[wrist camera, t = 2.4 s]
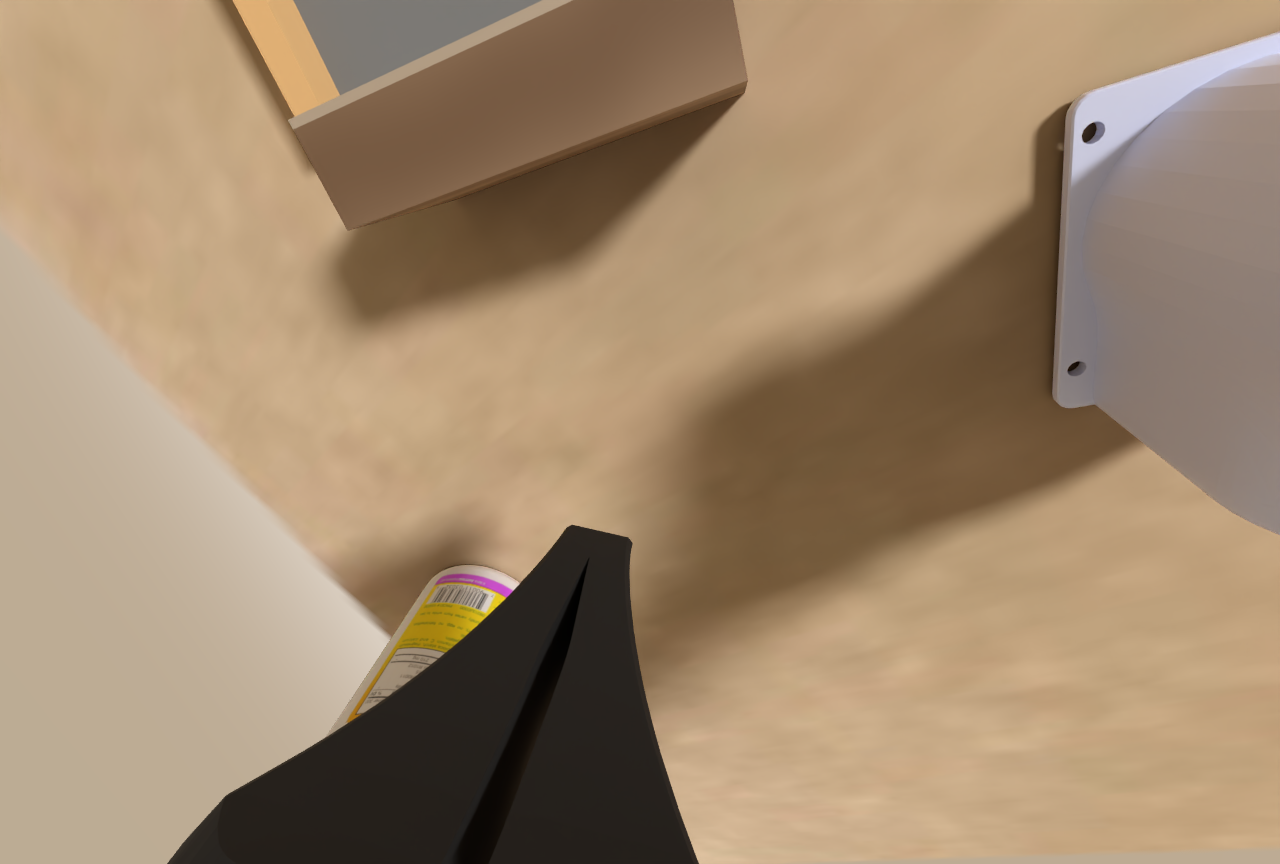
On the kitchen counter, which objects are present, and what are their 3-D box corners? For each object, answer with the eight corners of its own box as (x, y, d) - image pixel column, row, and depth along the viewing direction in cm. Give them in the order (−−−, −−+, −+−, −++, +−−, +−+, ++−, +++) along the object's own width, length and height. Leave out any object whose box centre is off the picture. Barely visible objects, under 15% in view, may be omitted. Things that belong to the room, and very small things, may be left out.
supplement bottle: (494, 658, 31) (363, 948, 20) (406, 589, 29) (209, 869, 18) (572, 618, 28) (469, 932, 17) (481, 538, 26) (299, 835, 15)
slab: (744, 92, 16) (747, 80, 10) (456, 199, 18) (347, 231, 13) (724, -11, 14) (717, -83, 9) (420, 119, 17) (287, 120, 12)
